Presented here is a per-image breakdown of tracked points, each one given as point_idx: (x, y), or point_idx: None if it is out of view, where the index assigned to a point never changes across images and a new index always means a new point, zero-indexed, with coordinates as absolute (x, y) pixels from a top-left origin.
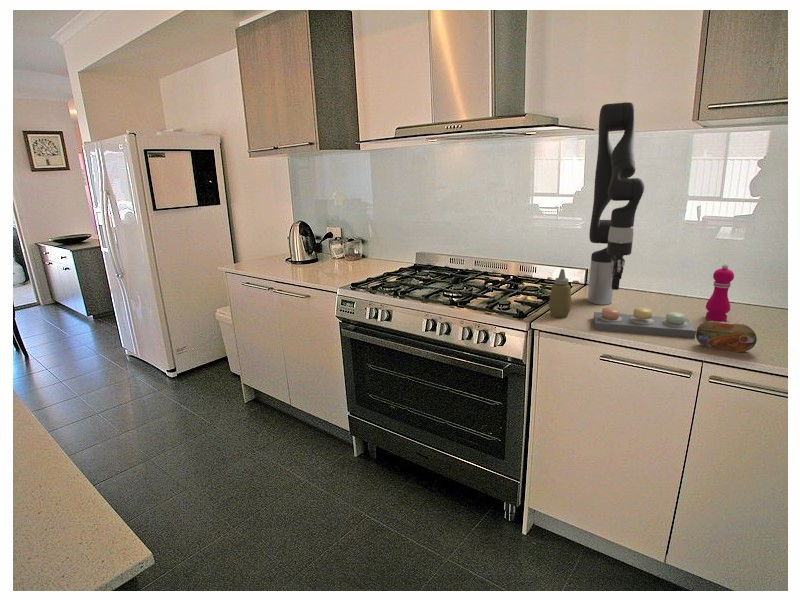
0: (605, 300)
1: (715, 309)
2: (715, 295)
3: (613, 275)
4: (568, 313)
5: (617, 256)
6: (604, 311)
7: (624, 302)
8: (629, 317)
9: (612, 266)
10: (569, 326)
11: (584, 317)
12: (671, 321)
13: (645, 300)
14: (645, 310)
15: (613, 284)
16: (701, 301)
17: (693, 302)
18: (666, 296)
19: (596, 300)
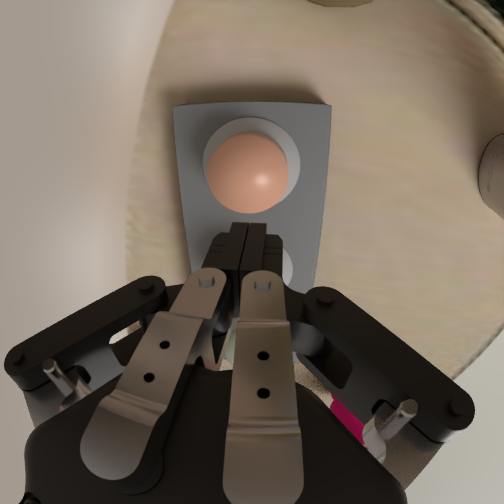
0: (487, 188)
1: (334, 404)
2: (349, 428)
3: (120, 301)
4: (321, 4)
5: (25, 501)
6: (220, 145)
7: (487, 244)
8: (281, 237)
9: (120, 379)
10: (192, 17)
11: (330, 69)
12: (230, 336)
13: (486, 294)
14: None
15: (216, 249)
16: (447, 373)
17: (446, 365)
18: (491, 330)
19: (491, 157)
